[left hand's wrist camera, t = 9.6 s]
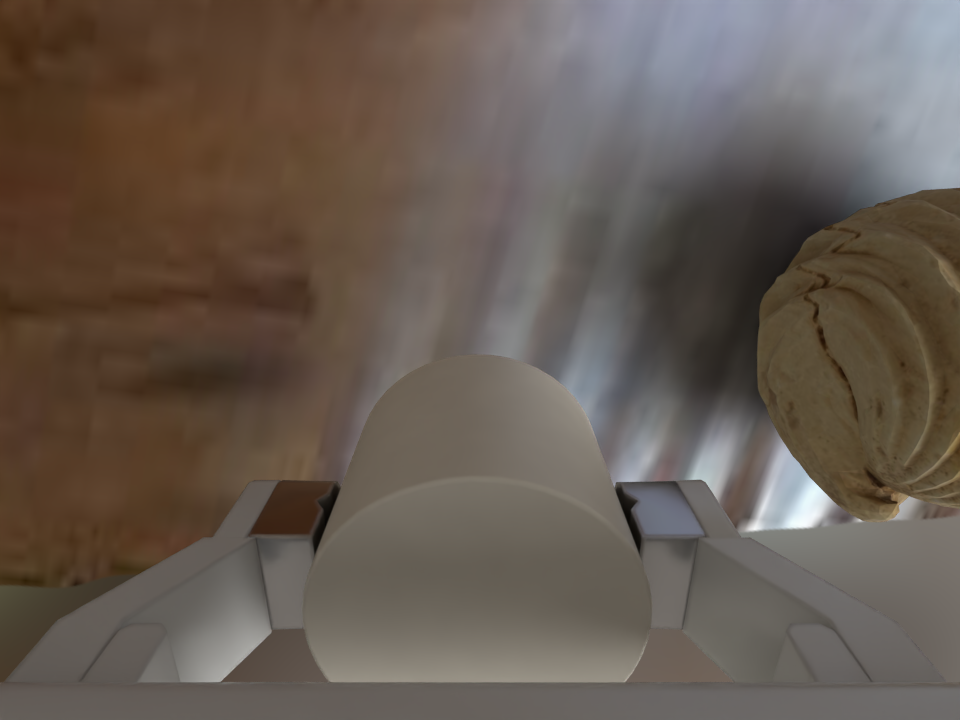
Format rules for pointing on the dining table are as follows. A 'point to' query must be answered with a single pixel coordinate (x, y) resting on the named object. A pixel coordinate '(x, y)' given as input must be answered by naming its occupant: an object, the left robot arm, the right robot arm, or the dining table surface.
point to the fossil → (871, 355)
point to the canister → (477, 539)
